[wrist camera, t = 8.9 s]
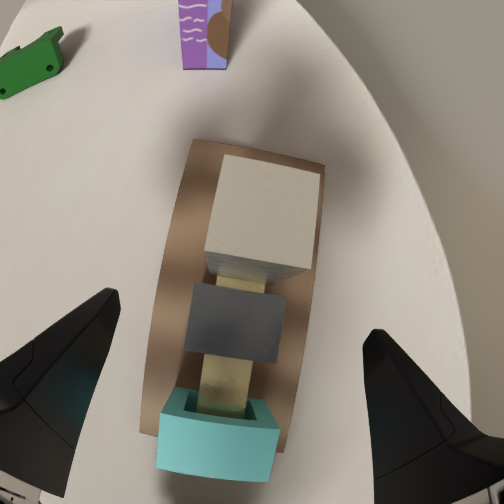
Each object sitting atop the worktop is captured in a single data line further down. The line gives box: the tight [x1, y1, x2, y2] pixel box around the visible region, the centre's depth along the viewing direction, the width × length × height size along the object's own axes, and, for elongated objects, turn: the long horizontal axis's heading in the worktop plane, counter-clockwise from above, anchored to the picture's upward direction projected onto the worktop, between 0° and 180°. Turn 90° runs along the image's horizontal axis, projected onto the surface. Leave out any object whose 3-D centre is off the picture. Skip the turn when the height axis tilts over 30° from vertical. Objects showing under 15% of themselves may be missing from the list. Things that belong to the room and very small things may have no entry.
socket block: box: [156, 386, 280, 482], centre depth 17 cm, size 4×7×6 cm, turn 81°
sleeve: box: [184, 282, 287, 364], centre depth 19 cm, size 4×5×5 cm
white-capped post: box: [196, 154, 320, 419], centre depth 15 cm, size 16×4×10 cm, turn 171°
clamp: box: [0, 26, 64, 99], centre depth 22 cm, size 12×6×9 cm, turn 95°
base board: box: [139, 139, 325, 453], centre depth 22 cm, size 26×12×1 cm, turn 171°
